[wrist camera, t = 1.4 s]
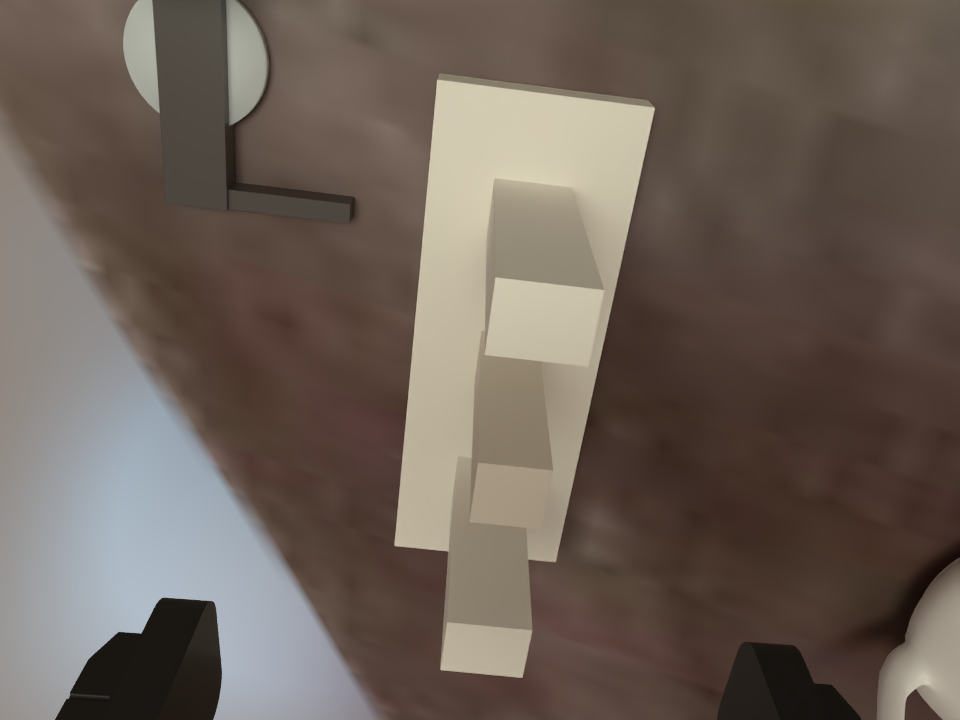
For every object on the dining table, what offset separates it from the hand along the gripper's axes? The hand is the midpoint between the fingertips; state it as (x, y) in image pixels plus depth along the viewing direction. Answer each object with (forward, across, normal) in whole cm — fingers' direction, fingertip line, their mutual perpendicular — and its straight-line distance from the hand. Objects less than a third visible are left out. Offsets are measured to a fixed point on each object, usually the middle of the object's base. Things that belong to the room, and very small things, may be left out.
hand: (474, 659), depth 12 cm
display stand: (+23, -2, +6) cm, 24 cm away
